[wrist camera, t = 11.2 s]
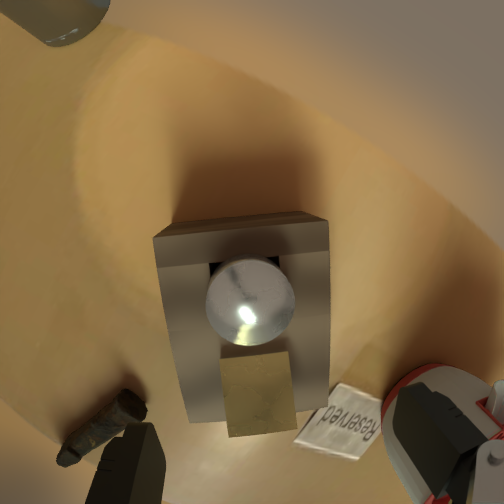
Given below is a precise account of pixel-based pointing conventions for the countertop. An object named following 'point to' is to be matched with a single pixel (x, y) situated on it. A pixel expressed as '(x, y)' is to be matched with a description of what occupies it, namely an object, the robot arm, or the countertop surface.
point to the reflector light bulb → (249, 300)
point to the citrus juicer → (465, 398)
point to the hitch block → (195, 291)
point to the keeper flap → (258, 394)
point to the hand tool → (102, 427)
